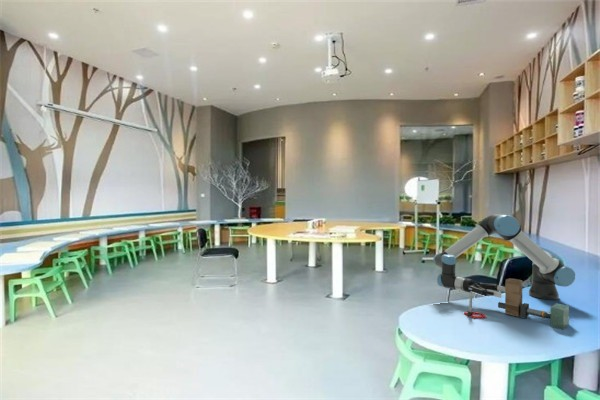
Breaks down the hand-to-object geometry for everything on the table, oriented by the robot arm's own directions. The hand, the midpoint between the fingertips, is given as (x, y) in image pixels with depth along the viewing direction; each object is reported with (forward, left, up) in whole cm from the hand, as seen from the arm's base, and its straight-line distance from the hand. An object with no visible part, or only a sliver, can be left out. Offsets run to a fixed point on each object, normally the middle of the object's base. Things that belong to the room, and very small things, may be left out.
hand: (505, 292), depth 181 cm
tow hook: (+16, -8, -11) cm, 22 cm away
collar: (-1, +9, -11) cm, 14 cm away
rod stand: (-1, +12, -11) cm, 16 cm away
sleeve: (-1, +4, -11) cm, 11 cm away
